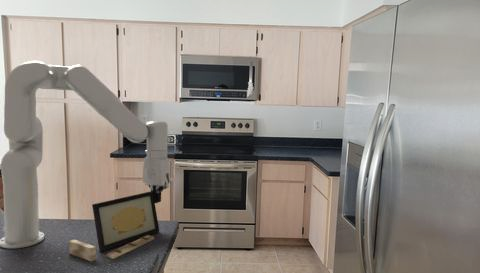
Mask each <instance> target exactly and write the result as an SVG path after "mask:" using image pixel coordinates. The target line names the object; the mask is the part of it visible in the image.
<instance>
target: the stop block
mask: <svg viewBox="0 0 480 273" xmlns="http://www.w3.org/2000/svg"><path fill="white" fill-rule="evenodd" d="M69 254H70V255H72V256H76V257H77V258H80V259H83V260H87V261H89V262H93V261H96V260H97V247H96V246H95V245H91V244H89V243H86V242H83V241H80V240H77V239H71V240H69Z"/></svg>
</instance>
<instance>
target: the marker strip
mask: <svg viewBox="0 0 480 273" xmlns="http://www.w3.org/2000/svg"><path fill="white" fill-rule="evenodd" d="M153 240H155V236H153V235H147V236H145V237H141V238H139V239H136V240H133V241H131V242H127V243H126V244H124V246H121V247H119V248H117V249H116V248H114V249H113V250H112V251H109V252H108V253H106V254H105V255H106V256H105V257H106V258H109V259H113V260H114V259H116V258H118V257H120V256H122V255H124V254H126V253H128V252H131V251H133V250H134V249H137V248H138V247H141V246H143V245H145V244H147V243H149V242H151V241H153Z"/></svg>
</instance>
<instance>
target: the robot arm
mask: <svg viewBox="0 0 480 273" xmlns="http://www.w3.org/2000/svg"><path fill="white" fill-rule="evenodd" d="M5 80H6V81H5V85H4V106H3V107H4V109H3V110H4V114H3V115H4V116H3V118H4V120H3V121H4V123H3V132H4V135H5V137H6V139H8V140H10V143H11V144H10V145H11V146H10V148H11V149H9V150H8V151H6V153H5V154H4V155H3V156H2V159H1V162H0V173H1V177H2V178H1V179H2V188H3V189H2V190H3V209H4V212H3V215H4V227H3V228H2V231H3V232H4V236H3V237H1V238H0V248H4V249H21V248H27V247H31V246H35V245H36V244H39V243H41V242H42V241H44V239H45V233H44V232H42V231H40V229H39V228H40V223H39V222H40V221H39V220H40V218H39V217H40V216H39V184H38V172H37V171H38V170H37V168H38V167H39V166H40V165H41V163H42V160H43V147H44V146H43V140H44V138H43V133H44V132H43V131H44V130H43V124H42V122H41V119H39V117H38V116H37V113H36V112H37V109H36V108H37V98H36V97H37V96H36V94H37V91H38V89H40V90H41V89H42V90H57V91H58V90H59V91H72V92H74V93H75V94H76V95H78V97H80V99H82V100H83V101H84V102H86V103H87V104H88V105H89V106H90V107H91V108H92V109H93V110H94V111H95V112H97V114H98V115H99V116H101V117H103V118H104V119H105V120H106V121H107V122H109V123H110V124H111V125H112V126H113V127H114V128H115V129H116V130H118V132H120V133H121V134H122V135H123V136H124V137H125V138H126V139H127V140H128V141H130V142H132V143H136V144H138V143H139V144H140V143H142V142H144V141H145V140H146V150H144V151H145V154H146V157H144V160H143V166H142V180H141V181H142V183H143V184H145V186H147V187H149V189H150V191H153V196H154V202H155V204H158V203H161V202H162V192H163V191H164V190H167V189H169V188H170V185H169V184H170V182H171V167H170V160H169V158H168V135H169V134H168V131H169V129H168V127H169V126H168V123H167V122H166V121H161V120H152V121H151V120H150V121H145V120H144V121H143V120H141V119H140V118H139V117H138V116H136V115H135V114H134V113H133V112H132V111H131V109H129V108H128V107H127V106H126V105H125V104H124V103H123V102H122V101H121V100H120V98H118V96H117V95H116V94H115V93H114V92H113V91H112V90H110V88H108V87H107V86H106V85H105V84H104V83H103V81H101V80H100V79H99V78H98V77H97V76H96V75H95V74H94V73H92V72H91V71H90V69H88V68H87V67H86V66H83V65H80V64H75V65H72V66H64V65H63V66H62V65H55V64H54V65H53V64H47V63H45V62H43V61H41V60H31V61H25V62H24V63H21V64H19V65H17V66H16V67H14V68H13V69H12V70H11V71H10V73H9V74H8V76H7V77H6V79H5Z"/></svg>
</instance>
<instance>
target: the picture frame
mask: <svg viewBox="0 0 480 273" xmlns="http://www.w3.org/2000/svg"><path fill="white" fill-rule="evenodd" d="M91 207H92V213H93V220H94V225H95V230H96V231H95V233H96V239H97V244H98V245H97V246H98V250H99V251H98V252H103V251H107V250H109V249H113V248H116V247H119V246H122V245H125V244H128V243H131V242H134V241H136V240H138V239H140V238H141V237H145V236H147V235H149V236H151V235H153V234H156V233H159V232H160V226H159V222H158V216H157V210H156V209H157V208H156V203H155V202H154V196H153V191H151V190H150V191H147V192H142V193H137V194H134V195H133V194H132V195H127V196H125V197H120V198H115V199H111V200H106V201H101V202H98V203H97V202H96V203H93V204H92V206H91Z"/></svg>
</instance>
